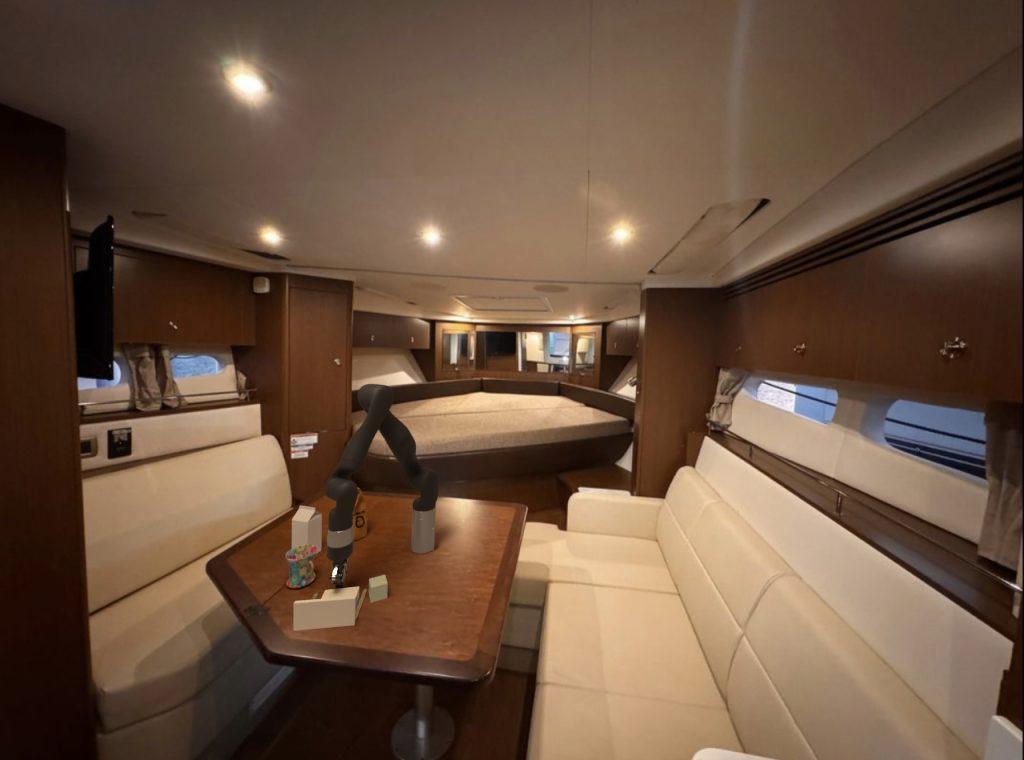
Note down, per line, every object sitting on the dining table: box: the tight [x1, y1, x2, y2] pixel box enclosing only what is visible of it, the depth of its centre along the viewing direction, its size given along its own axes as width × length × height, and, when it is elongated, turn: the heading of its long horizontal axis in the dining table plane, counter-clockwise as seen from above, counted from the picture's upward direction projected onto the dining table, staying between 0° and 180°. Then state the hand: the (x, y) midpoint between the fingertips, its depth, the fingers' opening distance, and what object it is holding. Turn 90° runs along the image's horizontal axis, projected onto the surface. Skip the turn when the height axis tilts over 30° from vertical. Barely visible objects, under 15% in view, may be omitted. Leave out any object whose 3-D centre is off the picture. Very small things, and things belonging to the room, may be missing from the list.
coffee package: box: [353, 486, 369, 543], centre depth 144 cm, size 10×12×22 cm
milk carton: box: [291, 505, 323, 556], centre depth 129 cm, size 7×7×19 cm
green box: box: [368, 574, 389, 604], centre depth 108 cm, size 5×5×5 cm
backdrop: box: [292, 596, 356, 632], centre depth 95 cm, size 16×1×8 cm, turn 100°
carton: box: [320, 586, 360, 610], centre depth 101 cm, size 10×8×4 cm
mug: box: [284, 545, 317, 589], centre depth 112 cm, size 12×9×11 cm
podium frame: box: [310, 588, 368, 622], centre depth 102 cm, size 16×13×1 cm
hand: (339, 592), depth 107 cm, fingers closed
